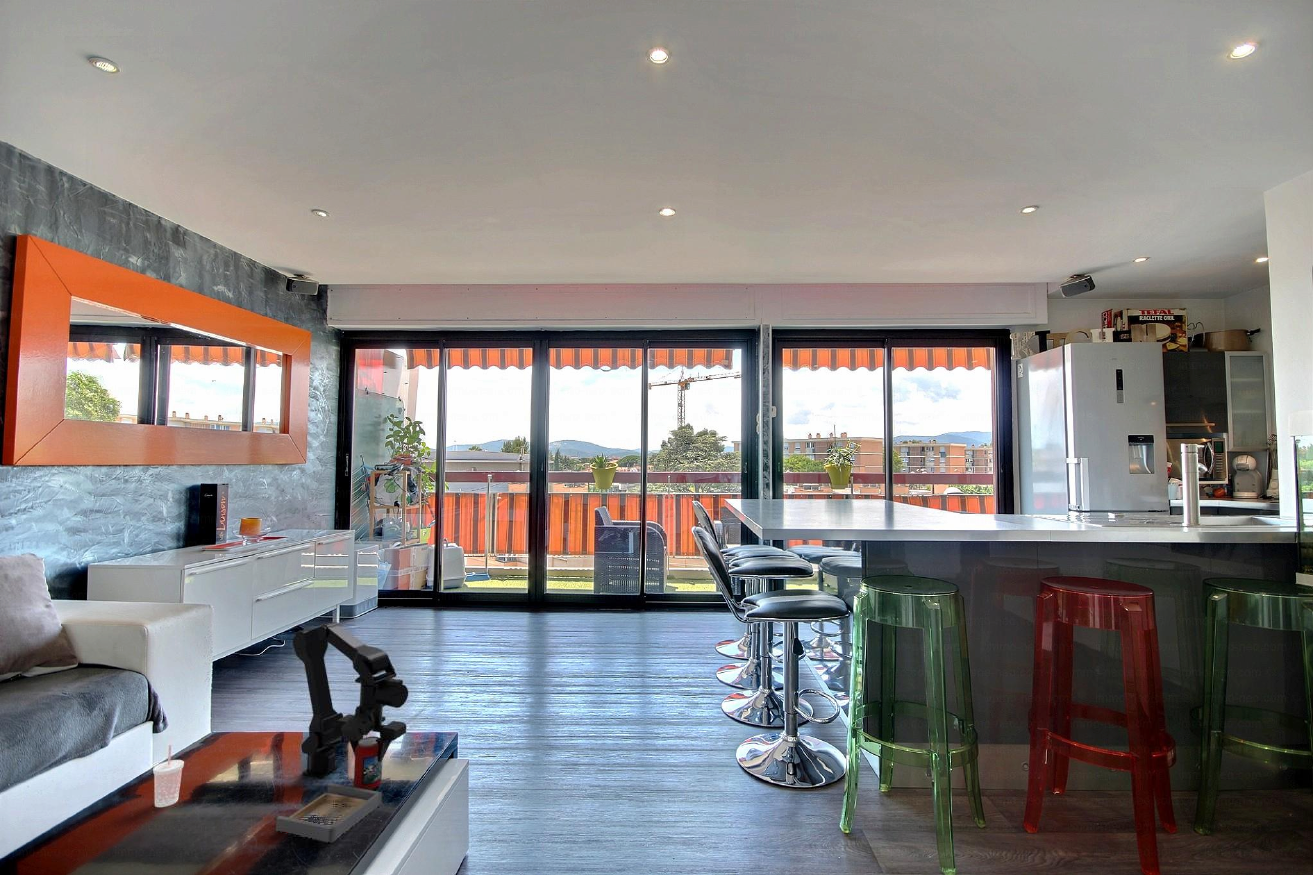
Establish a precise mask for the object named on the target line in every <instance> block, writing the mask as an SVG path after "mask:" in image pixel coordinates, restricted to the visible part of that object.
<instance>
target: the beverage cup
mask: <svg viewBox="0 0 1313 875" xmlns="http://www.w3.org/2000/svg"><path fill="white" fill-rule="evenodd" d="M167 754H168V756H167V761H163V762H161V763H159V764H157V765H155V766H154V767H153V769H152V770H153V771H152V773H153V774H154V775H153V776H154V780H153V781H154V806H155V807H156V808H165V807H169V806H172V805H174V804H176V803H177V802H178V800H179V794H180V787H181V783H182V781H181V779H182V772H183V768H184V766H185V765H184V764H185V761H184V760H181V759H172V760H171V756H172V755H171V754H172V744H170V745H168V753H167Z"/></svg>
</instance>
